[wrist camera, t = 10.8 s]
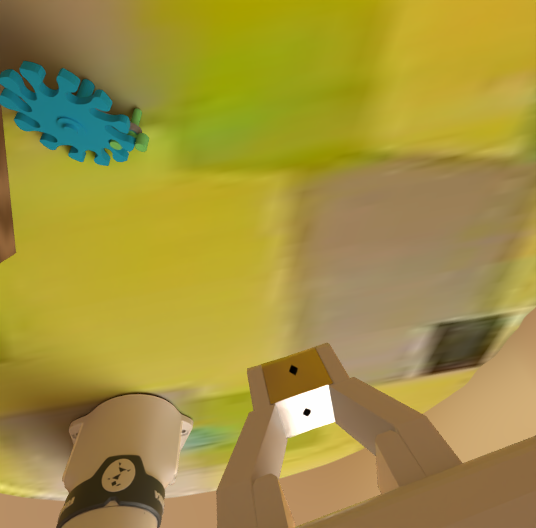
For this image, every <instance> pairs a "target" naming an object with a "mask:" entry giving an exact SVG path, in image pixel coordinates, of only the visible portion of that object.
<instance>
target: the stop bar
mask: <svg viewBox="0 0 536 528" xmlns="http://www.w3.org/2000/svg"><path fill="white" fill-rule="evenodd" d="M15 253H16V250H15V240H14V230H13V220H12V210H11V200H10V190H9V180H8V170H7V160H6V150H5V140H4V130H3V120H2V110H1V104H0V263H1V262H3V261H4V260H6V259H7V258H9V257H10V256H12V255H14V254H15Z"/></svg>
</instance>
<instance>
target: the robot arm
mask: <svg viewBox="0 0 536 528" xmlns="http://www.w3.org/2000/svg"><path fill="white" fill-rule="evenodd" d="M247 375H248V381H249V387H250V393H251V398H252V404H253V410H254V411H252V412H249V415H248V417H247V419H246V422H245V424H244V426H243V429H242V431H241V434H240V436H239V438H238V441H237V443H236V446H235V448H234V450H233V453H232V455H231V457H230V460H229V462H228V465H227V467H226V469H225V472H224V474H223V477H222V479H221V481H220V484H219V486H218V488H217V491H216V492H217V493H216V494H217V528H536V436H534V437H531V438H528V439H526V440H523V441H520V442H518V443H515V444H512V445H510V446H507V447H505V448H502V449H499V450H497V451H494V452H491V453H489V454H486V455H484V456H481V457H478V458H476V459H473V460H470V461H468V462H465V463H462V462H461V461H460V460H459V458H458V457H457V456H456V454H455V453H454V452H453V450H452V449H451V448H450V446H449V445H448V444H447V443H446V441H445V440H444V439H443V438H442V436H441V435H440V434H439V432H438V431H437V430H436V428H435V427H434V426H433V425H432V423H431V422H430V421H429V420H428V418H427V417H426V416H425V415H423V414H421V413H419V412H417V411H416V410H414V409H412V408H410V407H408V406H406V405H405V404H403V403H401V402H399V401H397V400H395V399H394V398H392V397H390V396H388V395H386V394H384V393H382V392H381V391H379V390H377V389H375V388H373V387H371V386H370V385H368V384H366V383H364V382H362V381H360V380H359V379H357V378H355V377H352V378H349V376H348V374H347V373H346V371H345V369H344V368H343V366H342V364H341V363H340V361H339V359H338V357H337V356H336V354H335V352H334V351H333V349H332V347H331V346H330V344H329V343H325V344H322V345H319V346H316V347H313V348H310V349H307V350H304V351H301V352H298V353H295V354H292V355H289V356H287V357H284V358H280V359H277V360H274V361H270V362H267V363H264V364H261V365H258V366H254V367H251V368H248V369H247ZM333 422H336V424H338V425H339V426H340V427H341V428H342V429H344V430H345V431H346V432H347V433H348V434H350V435H351V436H352V437H353V438H355V439H356V440H357V441H358V442H359V443H361V444H362V445H363V446H364V447H365V448H367V449H368V450H369V451H370V452H372V453H373V454H374V455H375V456H376V464H377V479H378V480H377V481H378V488H379V489H380V492H381V495H378V496H376V497H373V498H370V499H368V500H365V501H363V502H360V503H357V504H355V505H352V506H349V507H347V508H344V509H341V510H339V511H336V512H333V513H331V514H328V515H326V516H323V517H321V518H318V519H315V520H312V521H310V522H307V523H305V524H302V525H300V526H297V527H295V523H294V518H293V516H292V513H291V511H290V508H289V506H288V503H287V501H286V498H285V496H284V493H283V490H282V488H281V485H280V483H279V476H280V472H281V467H282V463H283V458H284V454H285V449H286V444H287V438H290V437H292V436H295V435H298V434H300V433H303V432H305V431H308V430H311V429H314V428H317V427H320V426H323V425H326V424H329V423H333ZM192 427H193V420H192V419H190V418H188V417H186V416H184V415H182V414H181V413H179V411H178V410H177V409H176V408H175V407H174V406H173V405H172V404H171V403H169V402H168V401H166V400H164V399H162V398H159V397H156V396H151V395H145V394H131V395H123V396H119V397H115V398H112V399H110V400H107V401H105V402H104V403H102V404H100V405H99V406H97V407H96V408H95V409H94V410H93V411H92V412H91V413H89V414H88V415H86V416H84V417H81V418H79V419H77V420H75V421H73V422H72V423H71V424H70V427H69V434H70V436H71V439H72V441H73V444H74V446H73V449H72V452H71V454H70V457H69V460H68V463H67V465H66V468H65V471H64V474H63V478H62V481H63V482H64V485H65V488H66V489H67V490H68V492H69V495H68V496H67V499H66V501H65V504H64V506H63V508H62V510H61V512H60V515H59V518H58V524H57V527H56V528H159V527H160V524H161V520H162V515H163V511H164V497H165V488H166V487H167V486H168V485H173V484H174V482H175V479H176V476H177V473H178V462H179V453H180V451H181V449H182V447H183V445H184V443H185V441H186V439H187V438H188V436H189V434H190V432H191V430H192Z"/></svg>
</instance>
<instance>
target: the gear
mask: <svg viewBox="0 0 536 528" xmlns="http://www.w3.org/2000/svg"><path fill="white" fill-rule="evenodd" d="M19 70H20V73H21V75H22V76H23V77H24V78H25V79H26V80H27V81H28V82H29V83H30V84H31V85H32V87H33V88H34V90H35V92H36V93H34V92H32V91H30V90H29V89H27V88H26V86H25V85H24V82H23V79H22V77H21V76H20V75H19V74H18V73H17V72H16V71H14V70H13V69H8V70H5V71H3V72H1V74H0V84H1V85H2V86H4V87H5V88H4V89H3V91H2V93H1V95H0V104H1V105H2V106H4V107H6V108H8V109H12V110H15V111H18V112H17V114H16V116H15V118H14V121H15V123H16V124H17V126H18V127H19V128H20V129H22V130H24V131H40V132H44V133H43V134H42V136H41V139H40V142H41V143H42V144H43V145H44V146H46V147H47V148H49V149H50V150H55V149H56V148H57V147H58V146H60V145H71V146H73V147H71V149H70V152H69V154H68V155H69V157H71V158H73V159H75V160H77V161H80V162H83V161H84V158H85V155H86V153H85V151H86V150H92V151H94V152H95V153H96V155H95V158H94V161H95V163H97V164H100V165H105V166H108V165H109V162H110V156H109V155H108V154H107V153H106V152H105V150H104V148H107V149H109V150H111V151H112V153H113V158H114V160H116V161H117V162H124V161H127V159H128V155H129V153H128V152H127V151H129V152H130V151H132V150H133V148H134V146H135V148H136V149H137V150H139V151H141V152H145V151H146V150H147V146H148V142H149V137H148V136H147V135H146V134H144V133H142V130H141V128H140V127H139V122H140V118H141V115H142V112H141V110H139V109H137V108H136V109H134V112H133V115H132V119H131V122H130V120H129V118H128V116H126V115H123V114H119V115H112V114H109V113H107V111H109V110H110V109H111V106H112V103H113V102H112V100H111V99H110V98H109V96H108V95H107V94H106V93H105V92H104V91H103V90H96V91H95V93H94V94H93V95H92V93H93V91H94V88H95V86H94V84H93V83H92V82H91V81H89V80H87V79H83V80H82V83H81V85H80V88H79V90H78V93H77V95H76V96H75V95H73V94H72V93H71V92H76V91H77V89H78V87H79V84H80V79H79V78H78V77H77V76H76V75H74V74H73V73H71V72H69V71H68V70H66V69H64V68H62V69H60V71H59V74H58V76H57V79H56V80H57V83H58V85H59V89H57V90H52V89H50V88H48V87H47V86H46V85H45V84H44V83H43V79H44V77H45V75H46V72H45V70H44V68H43V67H42V66H41V65H39V64H36V63H33V62H28V61H23V63H22V65H21V67H20V69H19ZM19 96H20V97H21V98H22V99H23V100H24V101H25V102H26V103H25V102H24V101H23V100H21V98H20V97H19ZM104 111H105V112H104ZM135 142H136V143H135Z"/></svg>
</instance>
